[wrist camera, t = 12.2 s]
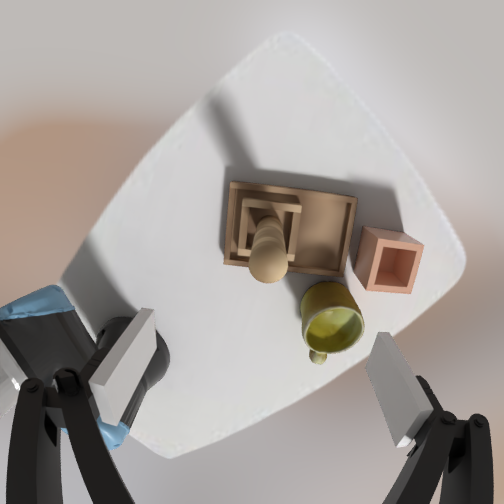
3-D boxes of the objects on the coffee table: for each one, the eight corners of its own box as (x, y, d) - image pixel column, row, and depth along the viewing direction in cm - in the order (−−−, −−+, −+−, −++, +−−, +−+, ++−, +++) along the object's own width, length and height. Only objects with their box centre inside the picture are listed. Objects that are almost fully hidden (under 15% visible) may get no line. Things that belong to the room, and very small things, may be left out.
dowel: (255, 238, 43) (246, 280, 28) (258, 213, 42) (250, 244, 27) (280, 240, 43) (285, 285, 28) (283, 216, 42) (290, 248, 27)
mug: (310, 263, 43) (333, 313, 35) (358, 279, 47) (384, 323, 39) (271, 318, 49) (284, 367, 41) (319, 326, 53) (336, 371, 45)
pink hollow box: (353, 271, 45) (366, 290, 38) (362, 226, 43) (378, 238, 36) (393, 275, 45) (410, 294, 38) (404, 232, 43) (424, 245, 36)
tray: (225, 259, 46) (222, 266, 43) (232, 181, 42) (229, 182, 39) (339, 271, 45) (344, 279, 42) (353, 196, 41) (359, 199, 38)
